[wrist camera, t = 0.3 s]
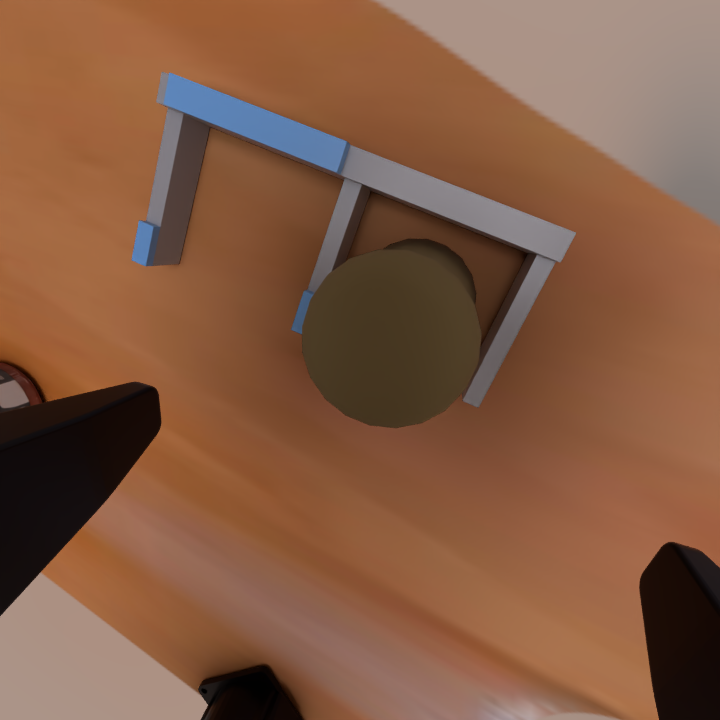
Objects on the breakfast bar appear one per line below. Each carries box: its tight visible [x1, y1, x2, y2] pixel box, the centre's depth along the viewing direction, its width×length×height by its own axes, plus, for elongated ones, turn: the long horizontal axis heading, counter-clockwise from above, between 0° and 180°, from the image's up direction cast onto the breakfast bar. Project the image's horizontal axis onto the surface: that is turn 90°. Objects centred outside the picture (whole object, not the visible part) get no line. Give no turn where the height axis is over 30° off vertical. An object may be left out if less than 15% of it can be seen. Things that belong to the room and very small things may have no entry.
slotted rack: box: [132, 72, 576, 408], centre depth 19 cm, size 18×8×4 cm, turn 69°
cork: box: [302, 239, 482, 428], centre depth 16 cm, size 6×6×11 cm
